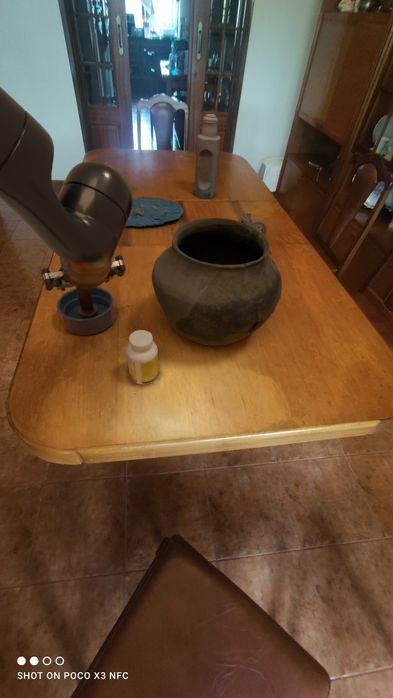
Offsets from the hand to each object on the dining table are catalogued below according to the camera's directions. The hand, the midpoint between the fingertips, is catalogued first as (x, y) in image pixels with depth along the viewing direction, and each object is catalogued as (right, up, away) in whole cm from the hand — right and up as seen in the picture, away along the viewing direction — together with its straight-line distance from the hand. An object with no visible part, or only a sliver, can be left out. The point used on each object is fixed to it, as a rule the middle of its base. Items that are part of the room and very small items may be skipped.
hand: (84, 281), depth 64 cm
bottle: (+26, +58, +82) cm, 104 cm away
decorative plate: (+3, +41, +64) cm, 76 cm away
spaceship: (+44, +26, +54) cm, 74 cm away
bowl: (-5, -6, +19) cm, 20 cm away
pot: (+27, -8, +20) cm, 35 cm away
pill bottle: (+11, -19, +8) cm, 24 cm away
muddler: (-5, -5, +18) cm, 20 cm away
